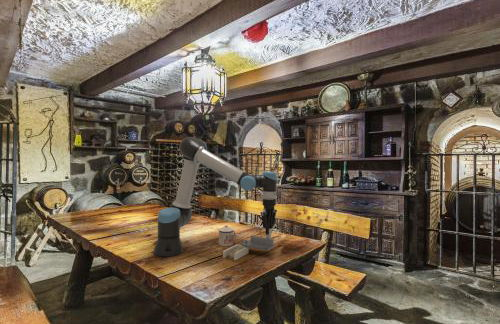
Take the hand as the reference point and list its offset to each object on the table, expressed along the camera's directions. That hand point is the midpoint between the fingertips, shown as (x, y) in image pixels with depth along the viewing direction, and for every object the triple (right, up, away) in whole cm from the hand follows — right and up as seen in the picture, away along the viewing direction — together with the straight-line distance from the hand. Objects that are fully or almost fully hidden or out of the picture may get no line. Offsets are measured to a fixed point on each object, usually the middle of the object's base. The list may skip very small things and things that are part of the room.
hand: (268, 239), depth 157 cm
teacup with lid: (-24, -6, +11) cm, 27 cm away
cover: (-7, -2, -4) cm, 8 cm away
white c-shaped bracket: (-17, -6, -7) cm, 19 cm away
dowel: (-19, -6, -10) cm, 22 cm away
